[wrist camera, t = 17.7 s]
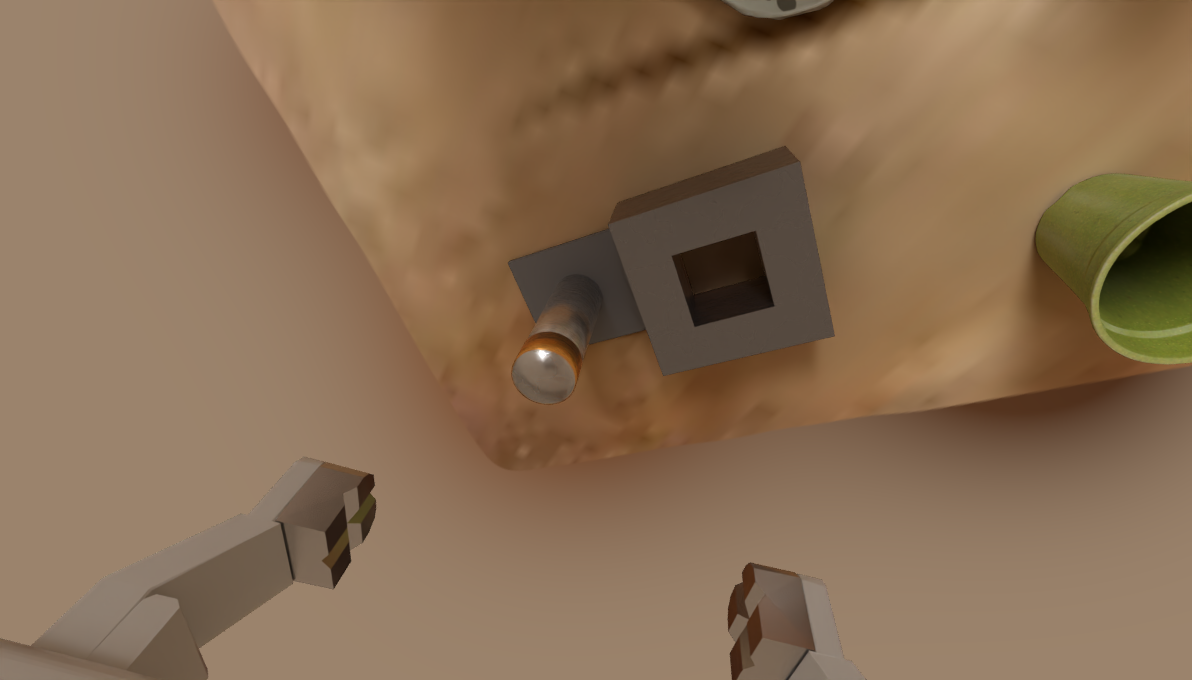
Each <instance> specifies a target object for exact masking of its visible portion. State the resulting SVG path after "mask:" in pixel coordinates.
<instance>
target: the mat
mask: <svg viewBox="0 0 1192 680" xmlns="http://www.w3.org/2000/svg"><path fill="white" fill-rule="evenodd" d="M508 265H509V267H510V269H511V271H512V273H513V275H514V278H515V280H516V282H517V284H518V286H519V288H520V291H521V293H522V295H523V297H524V299H525V301H526V304H527V306H528V308H529V310H530V312H531V314H532V317H533V319H534V321H535V323H537V321H538V319H539V317H540V315H541V313H542V311H543V310H544V308H545V306H546V304H547V302H548V300H549V299H550V297H551V295H552V293H553V291H554V289H555V287H556V286H557V284H558V282H559V281H560V280H561V279H563V278H564V277H566V276H568V275H572V274H580V275H585V276H587V277H589V278H591V279H592V280H594V281H595V282H596V283H597V285H598V286H599V288H600V290H601V292H602V304H601V307H600V310H599V313H598V317H597V320H596V323H595V326H594V329H593V332H592V335H591V338H590V341H589V344H593V343H597V342H600V341H604V340H608V339H612V338H616V337H620V336H623V335H627V334H631V333H635V332H639V331H643V330H646V327H645V325H644V322H643V319H642V316H641V314H640V311H639V308H638V306H637V303H636V300H635V297H634V295H633V292H632V289H631V286H630V284H629V281H628V278H627V275H626V273H625V270H624V267H623V265H622V262H621V259H620V256H619V254H618V251H617V248H616V245H615V243H614V240H613V237H612V235H611V232H610V229H607V230H604V231H601V232H597V233H594V234H591V235H588V236H585V237H582V238H579V239H576V240H573V241H570V242H567V243H564V244H561V245H558V246H554V247H551V248H548V249H545V250H542V251H539V252H536V253H533V254H530V255H527V256H524V257H521V258H518V259H515V260H512V261H509V262H508ZM589 344H588V345H589Z"/></svg>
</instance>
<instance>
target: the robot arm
mask: <svg viewBox="0 0 1192 680" xmlns="http://www.w3.org/2000/svg"><path fill="white" fill-rule="evenodd" d="M374 486H375V482H374V475H372V474H369V473H366V472H362V471H358V470H354V469H350V468H346V467H343V466H339V465H335V464H332V463H328V462H324V461H320V460H316V459H312V458H307V457H302V458H301V459H299V460H297V461H296V462H295V463H294V464H293V465H292V466H291V467H290V468H289V470H288V471H287V472H286V473H285V474H284V475H283V476H282V477H281V478H280V480H279V481H278V482H277V483H276V484H275V485H274V487H272V488H271V490H270V491H269V492H268V493H267V494H266V495H265V496H264V497H263V499H262V500H261V501H260V502H259V503H258V504H257V505H256V506H255V508H254V509H253V510H252V511H251V512H250V513H249V514H248V515H245V514H239V515H237V516H235V517H233V518H230V519H228V520H226V521H224V522H222V523H220V524H217V525H216V526H213V527H211V528H209V529H207V530H205V531H202V532H200V533H198V534H196V535H194V536H192V537H189V538H187V539H185V540H183V541H181V542H179V543H176V544H174V545H172V546H170V547H168V548H166V549H164V550H161V551H159V552H157V553H155V554H153V555H151V556H149V557H147V558H144V559H142V560H140V561H138V562H136V563H133V564H131V565H129V566H127V567H125V568H123V569H120V570H118V571H116V572H114V573H112V574H110V575H108V576H105V577H103V578H102V579H101V580H100V581H99V582H98V583H96V584H95V585H94V586H93V587H92V588H91V589H90V590H89V591H88V592H87V593H86V594H85V595H84V596H83V597H82V598H81V599H80V600H79V601H78V602H77V603H75V605H73V606H72V607H71V608H70V609H69V610H68V611H67V612H66V613H65V614H64V615H63V616H62V617H61V618H60V619H59V620H57V622H55V623H54V625H52V626H51V627H50V628H49V629H48V630H47V631H46V632H45V633H44V634H43V635H42V636H41V637H40V638H39V639H38V640H37V641H35V643H33V644H32V645H31V646H29V645H25V644H21V643H17V642H13V641H9V640H5V639H1V638H0V680H207V679H208V670H207V667H206V665H205V662H204V660H203V658H202V655H201V653H200V651H199V648H200V647H202V646H203V645H205V644H206V643H208V642H209V641H210V640H212V639H213V638H215V637H216V636H218V635H219V634H221V633H222V632H223V631H225V630H226V629H228V628H229V627H231V626H232V625H234V624H235V623H236V622H238V621H239V620H241V619H242V618H243V617H245V616H247V615H248V614H249V613H251V612H252V611H254V610H255V609H257V608H258V607H260V606H261V605H263V604H264V603H265V602H267V601H268V600H270V599H271V598H273V597H274V596H276V595H277V594H278V593H280V592H281V591H283V590H284V589H286V588H287V587H288V586H290V585H291V584H293V581H297V582H302V583H306V584H311V585H315V586H320V587H325V588H329V589H334V588H335V586H336V585H337V583H338V582H339V580H340V578H341V577H342V575H343V574H344V572H345V570H346V569H347V567H348V565H349V564H350V562H351V555H350V550H351V549H353V548H355V547H357V546H358V545H360V544H362V543H363V541H364V540H365V538H366V536H367V535H368V533H369V531H370V529H371V526H372V523H373V521H374V518H375V513H376V499H375V498H374V497H373V496H372V495H371V494H370V492H371V490H372V489H373V488H374ZM742 578H743V582H742V583H740V584H737V585H735V587H734V590H733V592H732V594H731V597H730V602H729V607H728V632H729V633H730V635H731V636H732V638H733V639H734V641H735V642H736V643H735V645H734V647H733V648H732V650H731V652H730V662H731V674H732V680H866V678H865V677H864V676H863V675H862V674H861V672H860V671H859V669H858V668H857V667H856V666H855V664H854V663H853V662H852V661H850V660H846V659H844V655H843V651H842V648H841V644H840V640H839V636H838V632H837V628H836V624H835V620H834V616H833V612H832V609H831V604H830V600H829V597H828V593H827V589H826V585H825V583H824V582H823V580H822V579H818V578H814V577H810V576H805V575H801V574H796V573H795V572H791V571H786V570H781V569H777V568H772V567H768V566H763V565H759V564H754V563H748V564H747V565H746V566H745V568H744V570H743V572H742Z"/></svg>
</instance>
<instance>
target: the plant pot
mask: <svg viewBox="0 0 1192 680" xmlns="http://www.w3.org/2000/svg"><path fill="white" fill-rule="evenodd" d="M1036 248H1037V251H1038V253H1039V255H1040V257H1041V258H1042V260H1043V261H1044V262H1045V263H1046V264H1047V265H1048V266H1049V267H1050V268H1051V269H1052V270H1053V271H1054V272H1055V273H1056V274H1057V275H1058V276H1059V277H1060V278H1061V279H1062V280H1063V281H1064V282H1065V283H1066V284H1067V285H1068V286H1069V287H1070V288H1071V290H1072V291H1073V292H1074V293H1075V294H1076V295H1077V296H1078V297H1079V298H1080V300H1081V301H1082V302H1083V303H1084V304H1085V305H1086V308H1087V311H1088V313H1089V316H1090V320H1091V323H1092V326H1093V328H1094V330H1095V332H1096V333H1097V335H1098V336H1099V337H1100V339H1101V340H1102V341H1103V342H1104V343H1105V344H1106V345H1107V346H1109V347H1110V348H1111V349H1113V350H1114V351H1116V352H1117V353H1119V354H1121V355H1123V356H1125V357H1127V358H1130V359H1133V360H1136V361H1140V362H1146V363H1152V364H1180V363H1191V362H1192V182H1191V181H1181V180H1173V179H1164V178H1155V177H1147V176H1138V175H1130V174H1105V175H1100V176H1096V177H1093V178H1090V179H1087V180H1085V181H1082V182H1080V183H1078V184H1076V185H1075V186H1073V187H1071V188H1070V189H1069V190H1068V191H1067V192H1066V193H1065V194H1064V195H1063V196H1062V197H1061V198H1060V199H1059V200H1058V201H1057V202H1056V203H1055V204H1053V205H1052V206H1051V207H1049V208H1048V209H1047V210H1046V212H1045V213H1044V215H1043V216H1042V218H1041V220H1040V222H1039V225H1038V228H1037V231H1036Z"/></svg>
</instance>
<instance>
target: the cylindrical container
mask: <svg viewBox="0 0 1192 680" xmlns="http://www.w3.org/2000/svg"><path fill="white" fill-rule="evenodd" d="M601 304H602V292H601V290H600V288H599V286H598V285H597V283H596V282H595V281H594V280H592V279H591V278H589V277H587V276H585V275H580V274H572V275H568V276H566V277H564V278H563V279H561V280H560V281H559V282H558V284H557V286H556V287H555V289H554V291H553V293H552V295H551V297H550V299H549V300H548V302H547V304H546V306H545V308H544V310H543V311H542V313H541V315H540V317H539V319H538V321H537V323H536V324H535V326H534V328H533V330H532V332H531V334H530V335H529V337H528V339H527V340H526V342H525V343H524V345H523V347H522V348H521V350H520V352H519V354H518V356H517V358H516V359H515V361H514V363H513V366H512V370H511V375H512V380H513V383H514V385H515V387H516V388H517V390H518V391H519V392H520V393H521V394H522V395H523V396H524V397H526V398H527V399H529V400H531V401H533V402H536V403H539V404H546V405H551V404H557V403H560V402H563V401H564V400H566V399H567V398H568V397H570V395H571V394H572V393H573V391H574V389H575V386H576V383H577V380H578V377H579V374H580V371H581V367H582V362H583V359H584V356H585V353H586V350H587V347H588V344H589V341H590V338H591V335H592V332H593V329H594V326H595V323H596V320H597V317H598V313H599V310H600V307H601Z"/></svg>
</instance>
